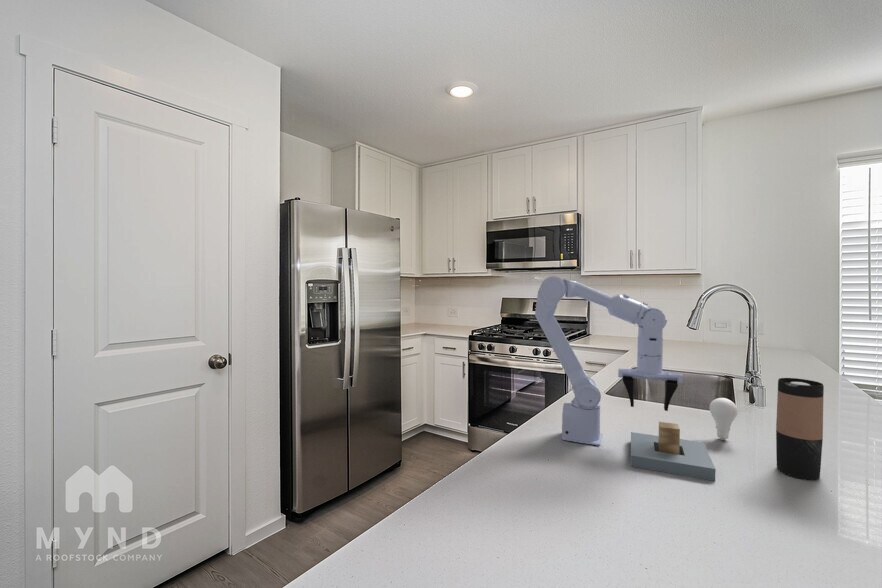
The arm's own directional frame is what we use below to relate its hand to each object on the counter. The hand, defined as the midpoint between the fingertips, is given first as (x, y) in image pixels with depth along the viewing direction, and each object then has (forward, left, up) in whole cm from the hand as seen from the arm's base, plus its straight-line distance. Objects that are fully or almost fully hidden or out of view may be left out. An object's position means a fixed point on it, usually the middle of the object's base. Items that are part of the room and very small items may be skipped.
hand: (648, 407), depth 106 cm
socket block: (+4, -8, -9) cm, 13 cm away
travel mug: (+29, -4, -10) cm, 31 cm away
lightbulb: (+18, +12, -10) cm, 24 cm away
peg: (+4, -8, -9) cm, 13 cm away
